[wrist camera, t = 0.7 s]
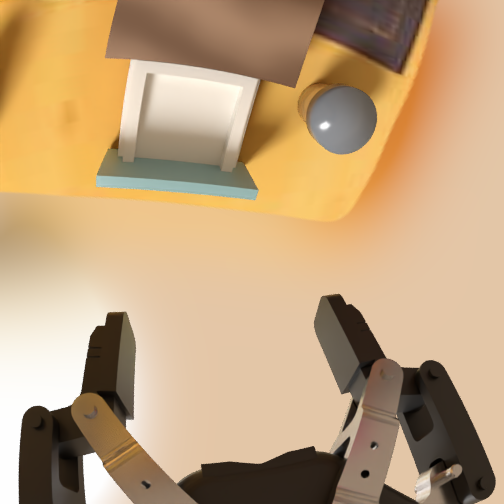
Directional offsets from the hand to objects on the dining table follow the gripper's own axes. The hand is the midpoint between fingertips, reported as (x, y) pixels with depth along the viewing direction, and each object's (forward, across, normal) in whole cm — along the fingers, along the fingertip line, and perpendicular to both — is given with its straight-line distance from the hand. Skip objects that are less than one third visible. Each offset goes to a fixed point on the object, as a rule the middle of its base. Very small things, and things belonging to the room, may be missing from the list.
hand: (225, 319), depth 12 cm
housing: (+20, -1, -18) cm, 27 cm away
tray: (+20, +1, -8) cm, 22 cm away
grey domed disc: (+18, -12, -5) cm, 22 cm away
